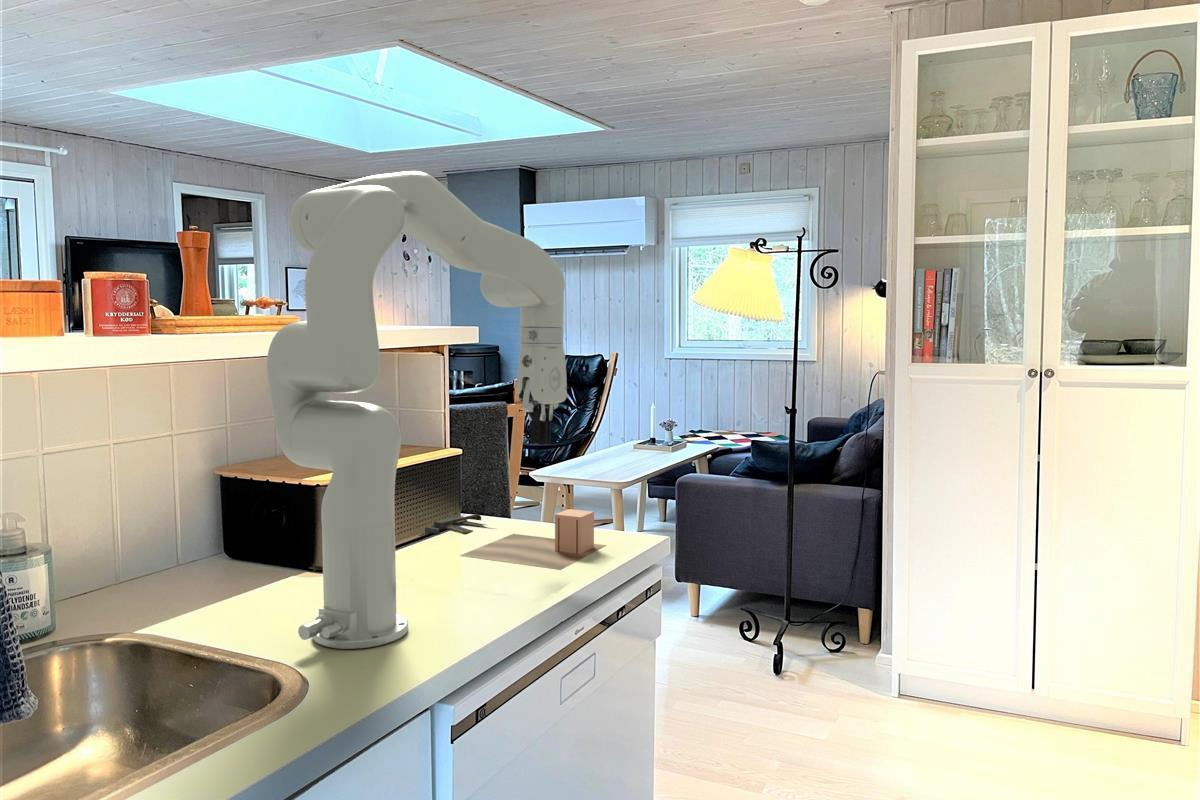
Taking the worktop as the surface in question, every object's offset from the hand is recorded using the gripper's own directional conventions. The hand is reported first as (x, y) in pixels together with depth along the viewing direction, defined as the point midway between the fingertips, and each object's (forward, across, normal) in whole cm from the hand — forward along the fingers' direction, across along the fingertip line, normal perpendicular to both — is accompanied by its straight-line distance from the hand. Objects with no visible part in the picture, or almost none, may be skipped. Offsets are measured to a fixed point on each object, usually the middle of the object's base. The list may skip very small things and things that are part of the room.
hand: (540, 443), depth 155 cm
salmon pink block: (+20, +6, -4) cm, 21 cm away
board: (+21, +2, +2) cm, 21 cm away
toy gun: (+22, +14, +25) cm, 35 cm away
